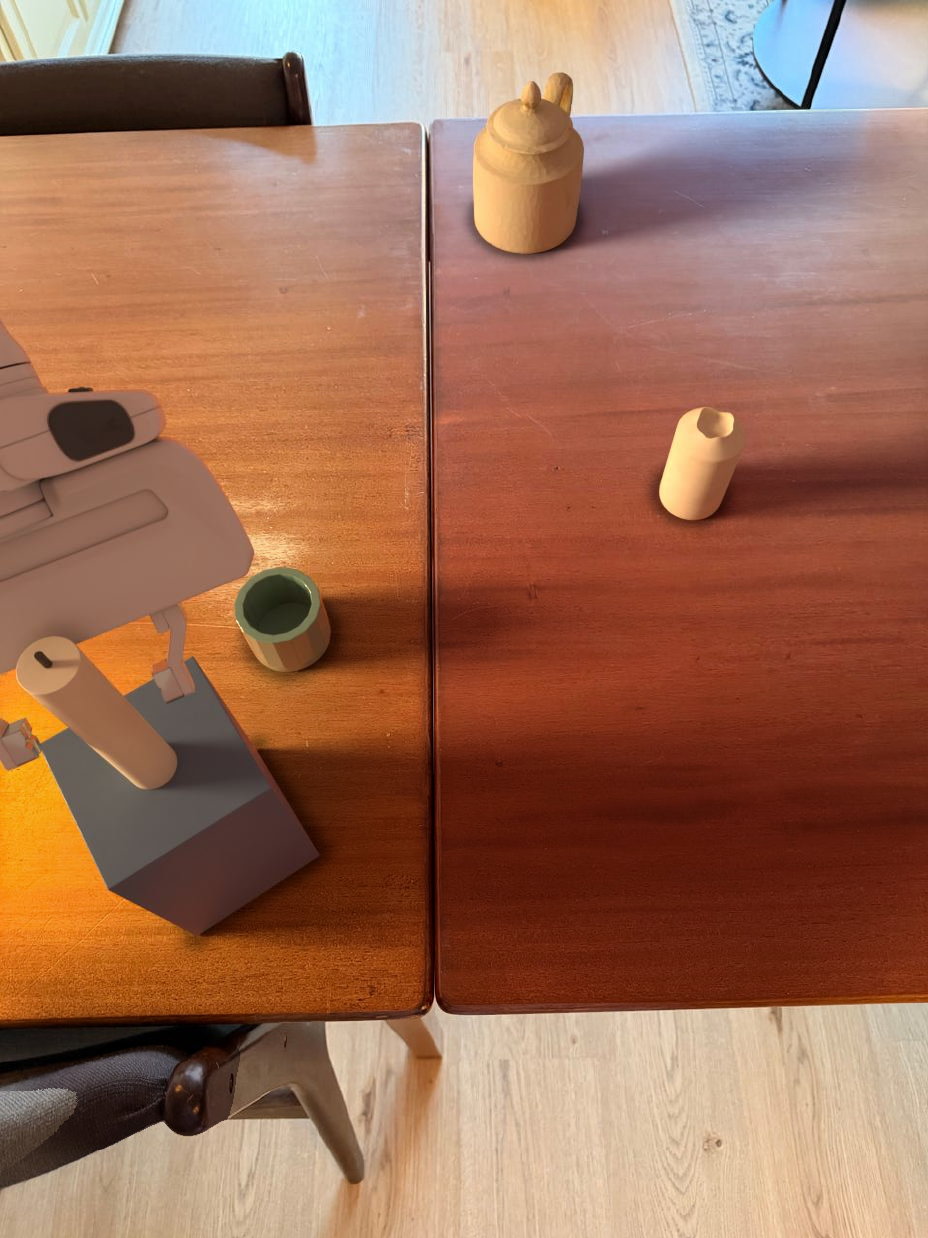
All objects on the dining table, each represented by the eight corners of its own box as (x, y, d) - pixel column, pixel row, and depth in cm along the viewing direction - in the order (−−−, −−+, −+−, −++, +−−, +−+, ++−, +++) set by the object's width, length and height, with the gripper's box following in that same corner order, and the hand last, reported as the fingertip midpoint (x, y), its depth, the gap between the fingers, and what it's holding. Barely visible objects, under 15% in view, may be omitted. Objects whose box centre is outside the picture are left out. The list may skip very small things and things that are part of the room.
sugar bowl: (468, 164, 101) (466, 24, 88) (566, 159, 101) (579, 18, 88) (476, 258, 94) (476, 121, 81) (582, 252, 94) (599, 114, 81)
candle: (647, 482, 81) (667, 407, 72) (701, 461, 82) (727, 385, 73) (677, 529, 78) (702, 458, 69) (733, 508, 79) (764, 435, 70)
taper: (140, 799, 51) (18, 697, 37) (120, 759, 52) (-6, 647, 38) (185, 772, 51) (81, 662, 38) (164, 733, 53) (56, 614, 39)
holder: (274, 687, 72) (259, 658, 67) (236, 626, 75) (219, 594, 70) (345, 644, 74) (335, 613, 69) (305, 586, 76) (293, 553, 72)
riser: (196, 936, 64) (107, 890, 48) (137, 820, 67) (37, 744, 52) (319, 855, 66) (271, 788, 51) (255, 748, 70) (193, 655, 55)
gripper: (-323, 564, 35) (-132, 850, 40) (182, 383, 39) (303, 663, 43) (-251, 538, 41) (-92, 790, 45) (182, 383, 45) (288, 630, 49)
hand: (104, 727), depth 44 cm, fingers open, 6 cm apart
